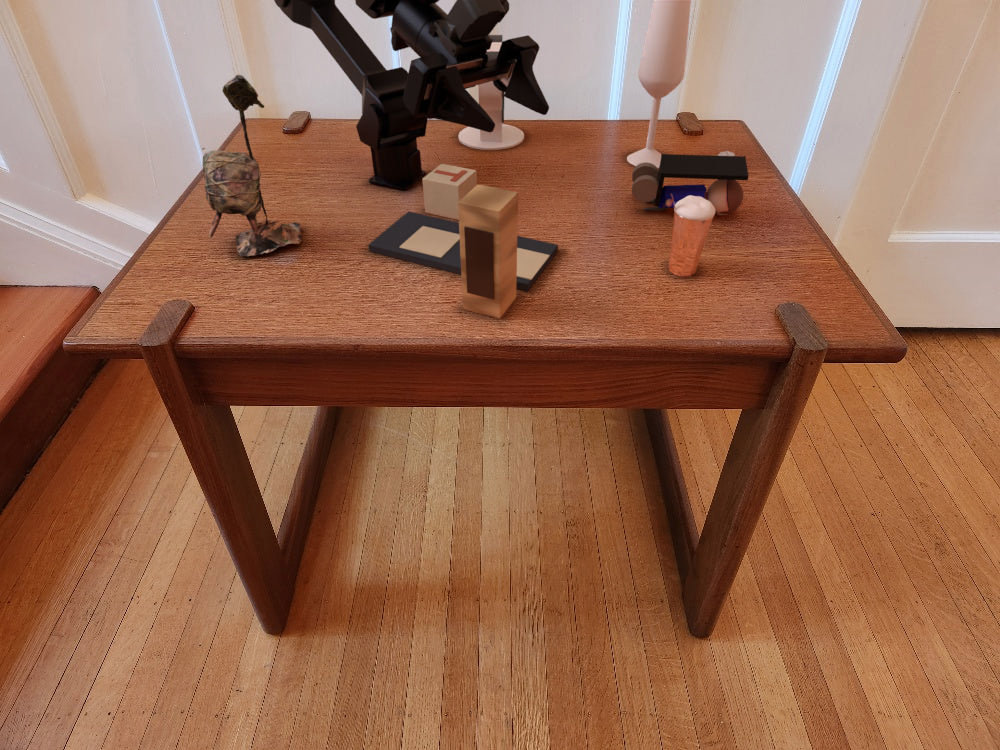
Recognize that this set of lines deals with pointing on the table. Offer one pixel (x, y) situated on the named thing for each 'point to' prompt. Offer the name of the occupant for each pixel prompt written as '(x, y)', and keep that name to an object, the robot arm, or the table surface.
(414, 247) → the word mat
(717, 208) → the toy vehicle
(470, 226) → the maple letter block
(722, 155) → the game die
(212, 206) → the bird sculpture
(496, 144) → the white post on disc
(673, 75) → the champagne flute
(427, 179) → the cream letter cube
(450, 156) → the table surface
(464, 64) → the robot arm
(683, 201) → the milkshake
